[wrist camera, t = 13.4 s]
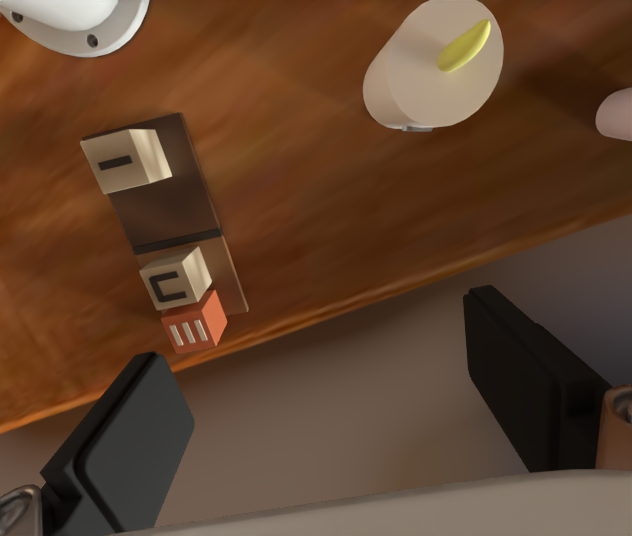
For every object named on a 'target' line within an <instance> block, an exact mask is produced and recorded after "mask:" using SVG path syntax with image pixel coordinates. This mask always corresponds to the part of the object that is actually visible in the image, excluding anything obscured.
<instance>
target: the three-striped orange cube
mask: <svg viewBox="0 0 632 536" xmlns="http://www.w3.org/2000/svg"><path fill="white" fill-rule="evenodd" d="M161 321H162V323H163V325H164V327H165V330H166V332H167V334H168V336H169V338H170V340H171V343H172V345H173V347H174V349H175V351H176V353H177V354H178V353H183V352H189V351H194V350H199V349H204V348H209V347H214V346H216V345H217V343H218V341H219V339H220V337H221V334H222V332H223V330H224V328H225V326H226V324H227V320H226V317H225V314H224V312H223V309H222V306H221V304H220V301H219V298H218V296H217V293H216V290H215V289H214V290H209V291H205V293H204V294H203V296H202V297H201V299H200V300H199V301H198V302H195V303H190V304H186V305H181V306H176V307H171V308H169V309H168V310H167V311H166V313H165V314H164V315H163V316H162V317H161Z"/></svg>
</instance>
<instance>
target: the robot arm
mask: <svg viewBox="0 0 632 536" xmlns="http://www.w3.org/2000/svg"><path fill="white" fill-rule="evenodd" d="M148 4H149V0H0V11H1V13H2V14H3V15H4V16H5V17H6V18H7V19H8V20H9V21H10V22H11V23H12V24H13V25H14V26H15V27H16V28H17V29H18V30H20V31H21V32H22V33H24V34H25V35H26V36H27V37H29V38H30V39H31V40H33V41H35V42H37V43H39V44H41V45H42V46H44V47H46V48H48V49H51V50H54V51H57V52H60V53H63V54H67V55H71V56H76V57H96V56H101V55H106V54H108V53H111V52H113V51H115V50H117V49H119V48H120V47H121V46H123V45H124V44H125V43H126V42H127V41H129V40H130V39H131V38H132V36H133V35H134V34H135V32H136V31H137V30H138V28H139V27H140V25H141V23H142V21H143V18H144V16H145V14H146V12H147V8H148ZM97 41H98V45H97V44H96V42H97ZM463 304H464V318H465V333H466V346H467V360H468V371H469V374H470V377H471V380H472V381H473V383H474V384H475V386H476V388H477V389H478V391H479V392H480V394H481V396H482V397H483V399H484V401H485V402H486V404H487V405H488V407H489V408H490V410H491V412H492V413H493V415H494V417H495V418H496V420H497V421H498V423H499V424H500V426H501V428H502V429H503V431H504V433H505V434H506V436H507V437H508V439H509V441H510V442H511V444H512V445H513V446H514V448H515V450H516V452H517V453H518V455H519V456H520V458H521V459H522V461H523V463H524V464H525V466H526V468H527V469H528V471H529V472H530V473H526V474H517V475H510V476H502V477H494V478H486V479H478V480H471V481H462V482H454V483H447V484H440V485H434V486H426V487H420V488H413V489H406V490H399V491H393V492H385V493H378V494H371V495H365V496H357V497H351V498H344V499H337V500H330V501H324V502H317V503H310V504H304V505H298V506H291V507H284V508H277V509H271V510H264V511H257V512H251V513H244V514H238V515H231V516H225V517H218V518H212V519H205V520H199V521H192V522H186V523H180V524H174V525H167V526H160V527H154V525H155V522H156V520H157V517H158V515H159V512H160V510H161V507H162V505H163V503H164V500H165V498H166V495H167V493H168V490H169V488H170V485H171V483H172V481H173V478H174V476H175V473H176V471H177V469H178V466H179V464H180V461H181V459H182V456H183V454H184V451H185V449H186V447H187V444H188V442H189V439H190V437H191V435H192V432H193V429H194V418H193V415H192V413H191V411H190V409H189V407H188V405H187V403H186V401H185V399H184V397H183V394H182V392H181V390H180V388H179V386H178V384H177V382H176V380H175V378H174V376H173V373H172V371H171V369H170V367H169V365H168V363H167V361H166V359H165V357H164V356H163V355H159V353H157V352H155V351H152V352H147V353H142V354H138V355H135V356H134V357H133V358H132V359H131V361H130V362H129V363H128V364H127V366H126V367H125V368H124V369H123V370H122V372H121V373H120V374H119V375H118V377H117V378H116V379H115V380H114V382H113V383H112V384H111V385H110V387H109V388H108V389H107V390H106V391H105V393H104V394H103V395H102V396H101V398H100V399H99V400H98V401H97V403H96V404H95V405H94V406H93V407H92V409H91V410H90V411H89V413H88V414H87V415H86V416H85V417H84V419H83V420H82V421H81V422H80V424H79V425H78V426H77V427H76V428H75V430H74V431H73V432H72V434H71V435H70V436H69V437H68V438H67V440H66V441H65V442H64V443H63V444H62V446H61V447H60V448H59V449H58V451H57V452H56V453H55V454H54V456H53V457H52V458H51V459H50V460H49V462H48V463H47V464H46V465H45V467H44V468H43V469H42V470H41V472H40V474H41V475H42V477H43V478H44V479H45V481H46V483H45V485H44V486H43V487H42V488H41V489H40V488H39V487H38V486H36V485H24V486H22V487H19V488H16V489H14V490H12V491H10V492H8V493H6V494H4V495H3V496H2V497H0V536H632V385H620V386H616V387H612V386H611V385H610V384H609V383H608V382H607V381H605V380H604V379H603V378H602V377H601V376H600V375H598V374H597V373H596V372H595V371H594V370H593V369H591V368H590V367H589V366H588V365H587V364H586V363H585V362H583V361H582V360H581V359H580V358H579V357H578V356H576V355H575V354H574V353H573V352H572V351H571V350H569V349H568V348H567V347H566V346H565V345H564V344H562V343H561V342H560V341H559V340H558V339H557V338H555V337H554V336H553V335H552V334H551V333H550V332H548V331H547V330H546V329H545V328H544V327H543V326H541V325H539V324H537V323H534V322H533V321H532V320H531V319H530V318H529V317H528V316H526V315H525V314H524V313H523V312H522V311H521V310H520V309H518V308H517V307H516V306H515V305H514V304H513V303H512V302H510V301H509V300H508V299H507V298H506V297H505V296H504V295H502V294H501V293H500V292H499V291H498V290H497V289H496V288H494V287H493V286H492V285H486V286H481V287H476V288H471V289H470V290H469V293H468V294H466V295H464V297H463ZM153 527H154V528H153Z"/></svg>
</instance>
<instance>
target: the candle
mask: <svg viewBox="0 0 632 536" xmlns="http://www.w3.org/2000/svg"><path fill="white" fill-rule="evenodd" d="M503 49H504V47H503V41H502V35H501V30H500V28H499V26H498V24H497V22H496V20H495V18H494V16H493V15H492V13H491V12H490V11H489V10H488V9H487V8H486V7H485V6H484V5H483V4H482V3H480V2H478V1H476V0H430V1H427V2H425V3H423V4H422V5H420V6H419V7H418V8H417V9H416V10H415V11H413V12H412V13H411V14H410V15H409V16H408V17H407V18H406V20H405V21H404V22H403V23H402V25H401V26H400V27H399V28H398V30H397V31H396V32H395V33H394V35H393V36H392V37H391V38H390V40H389V41H388V42H387V43H386V45H385V46H384V47H383V48H382V50H381V51H380V52H379V53H378V55H377V56H376V57H375V59H374V60H373V61H372V63H371V64H370V65H369V67H368V70H367V72H366V75H365V77H364V83H363V99H364V102H365V105H366V108H367V110H368V112H369V113H370V115H371V116H372V117H373V118H374V119H375V120H376V121H377V122H378V123H379V124H382V125H384V126H386V127H389V128H395V129H402V131H432V127H442V126H449V125H453V124H455V123H458V122H460V121H462V120H465V119H466V118H468V117H469V116H470V115H472V114H473V113H474V112H476V111H477V110H478V109H479V108H480V107H481V106H482V105H483V104H484V102H485V101H486V100H487V99H488V98H489V96H490V95H491V93H492V91H493V89H494V87H495V85H496V84H497V82H498V78H499V75H500V72H501V68H502V64H503Z"/></svg>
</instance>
